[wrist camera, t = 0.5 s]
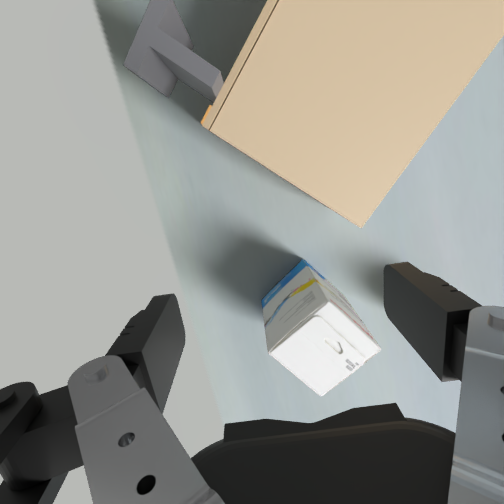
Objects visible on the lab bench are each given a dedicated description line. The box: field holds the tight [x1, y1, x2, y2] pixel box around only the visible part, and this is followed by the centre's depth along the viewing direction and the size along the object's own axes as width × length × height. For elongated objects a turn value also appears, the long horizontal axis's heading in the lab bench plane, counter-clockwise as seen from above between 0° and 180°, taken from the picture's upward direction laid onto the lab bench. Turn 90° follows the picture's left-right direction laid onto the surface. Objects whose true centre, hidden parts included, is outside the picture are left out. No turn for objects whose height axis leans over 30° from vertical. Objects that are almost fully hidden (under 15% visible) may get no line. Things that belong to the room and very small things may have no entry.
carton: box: [210, 0, 504, 228], centre depth 29 cm, size 20×16×10 cm
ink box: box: [261, 259, 381, 396], centre depth 35 cm, size 9×8×12 cm
